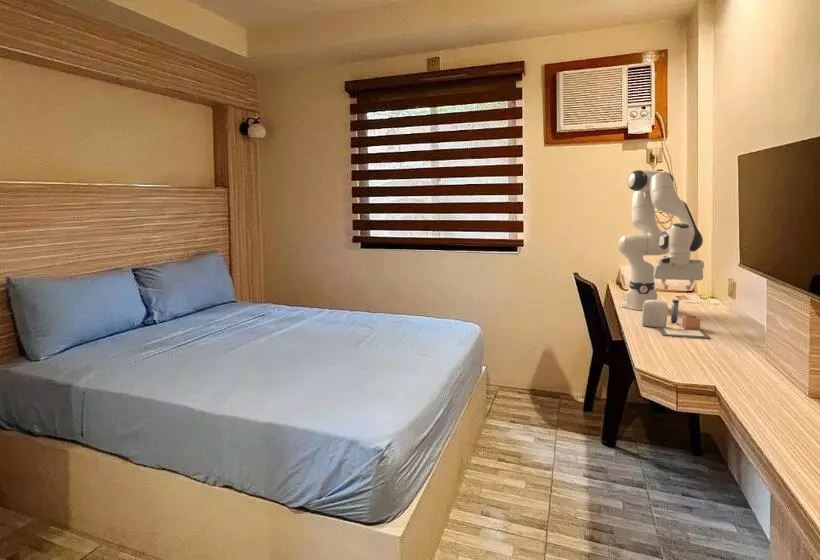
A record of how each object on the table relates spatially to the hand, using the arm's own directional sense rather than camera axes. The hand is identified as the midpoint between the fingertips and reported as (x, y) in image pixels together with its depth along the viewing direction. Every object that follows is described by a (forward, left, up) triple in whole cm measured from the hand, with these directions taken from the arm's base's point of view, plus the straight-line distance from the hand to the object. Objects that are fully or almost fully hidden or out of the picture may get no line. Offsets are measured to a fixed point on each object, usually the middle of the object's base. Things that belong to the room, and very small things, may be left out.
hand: (676, 289), depth 234 cm
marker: (0, 0, -16) cm, 16 cm away
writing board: (+19, 0, -16) cm, 25 cm away
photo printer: (+8, -10, -17) cm, 21 cm away
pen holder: (+9, +5, -16) cm, 19 cm away
